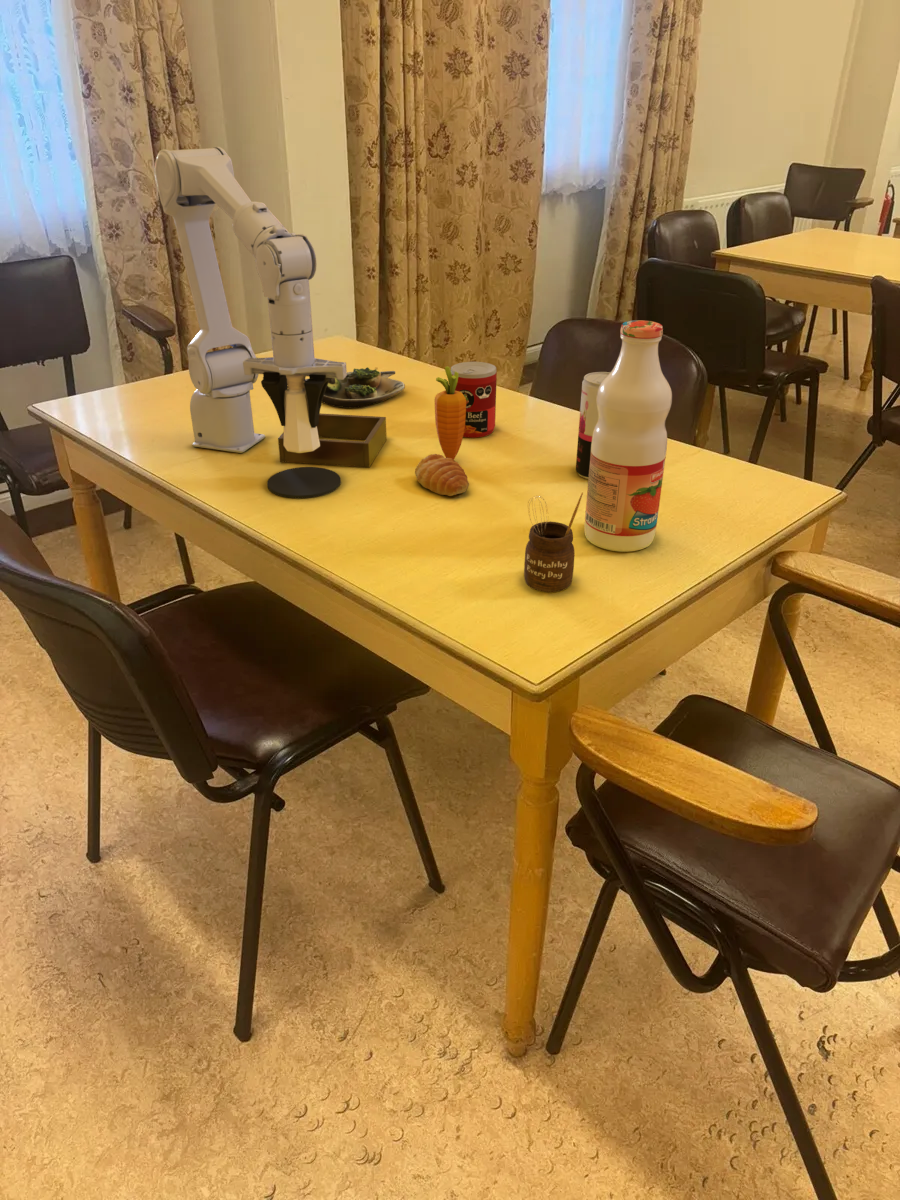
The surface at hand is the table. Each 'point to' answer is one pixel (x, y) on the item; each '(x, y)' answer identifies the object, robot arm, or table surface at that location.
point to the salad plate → (361, 388)
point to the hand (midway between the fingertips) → (299, 424)
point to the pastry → (441, 475)
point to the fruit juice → (629, 444)
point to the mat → (304, 482)
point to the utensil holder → (549, 554)
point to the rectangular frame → (342, 441)
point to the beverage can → (588, 420)
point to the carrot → (450, 415)
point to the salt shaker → (298, 417)
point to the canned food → (477, 396)
